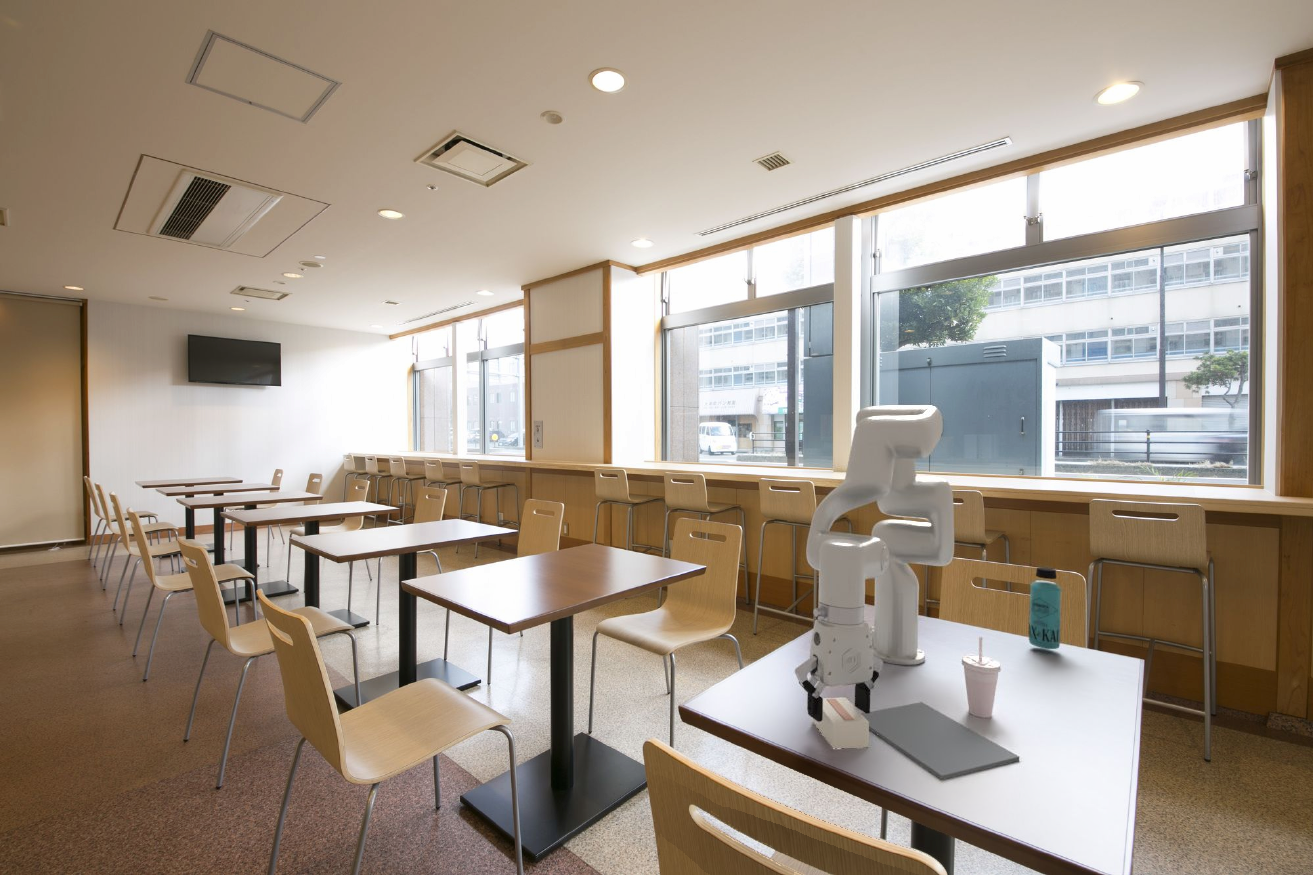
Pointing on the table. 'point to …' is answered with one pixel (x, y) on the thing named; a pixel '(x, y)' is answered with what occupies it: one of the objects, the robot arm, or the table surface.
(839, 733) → the card box
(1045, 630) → the beverage bottle
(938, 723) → the mat
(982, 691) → the smoothie
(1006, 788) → the table surface
